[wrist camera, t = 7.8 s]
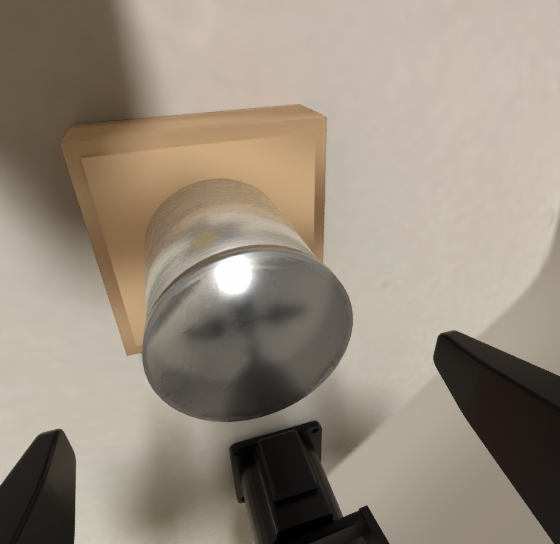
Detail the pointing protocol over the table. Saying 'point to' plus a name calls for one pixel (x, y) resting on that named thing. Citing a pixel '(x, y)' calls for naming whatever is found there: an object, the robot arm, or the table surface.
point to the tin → (236, 305)
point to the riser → (188, 182)
